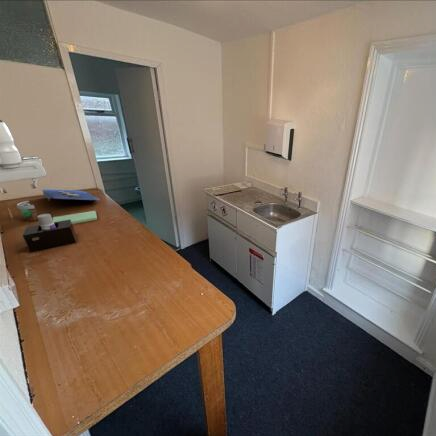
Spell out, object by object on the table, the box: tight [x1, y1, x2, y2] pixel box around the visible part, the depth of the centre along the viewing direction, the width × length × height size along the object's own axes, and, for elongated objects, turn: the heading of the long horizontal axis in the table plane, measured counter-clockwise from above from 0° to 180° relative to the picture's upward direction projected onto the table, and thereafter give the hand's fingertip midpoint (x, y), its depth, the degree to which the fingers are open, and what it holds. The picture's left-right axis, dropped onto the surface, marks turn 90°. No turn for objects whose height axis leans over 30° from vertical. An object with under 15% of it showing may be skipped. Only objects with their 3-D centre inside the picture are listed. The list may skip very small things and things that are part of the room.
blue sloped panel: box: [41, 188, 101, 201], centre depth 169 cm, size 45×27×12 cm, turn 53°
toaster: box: [22, 220, 77, 253], centre depth 114 cm, size 16×12×9 cm
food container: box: [16, 200, 39, 222], centre depth 138 cm, size 12×6×10 cm, turn 55°
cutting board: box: [52, 210, 98, 225], centre depth 142 cm, size 20×14×2 cm
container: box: [37, 213, 56, 230], centre depth 114 cm, size 5×5×15 cm
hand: (19, 190), depth 103 cm, fingers open, 8 cm apart
